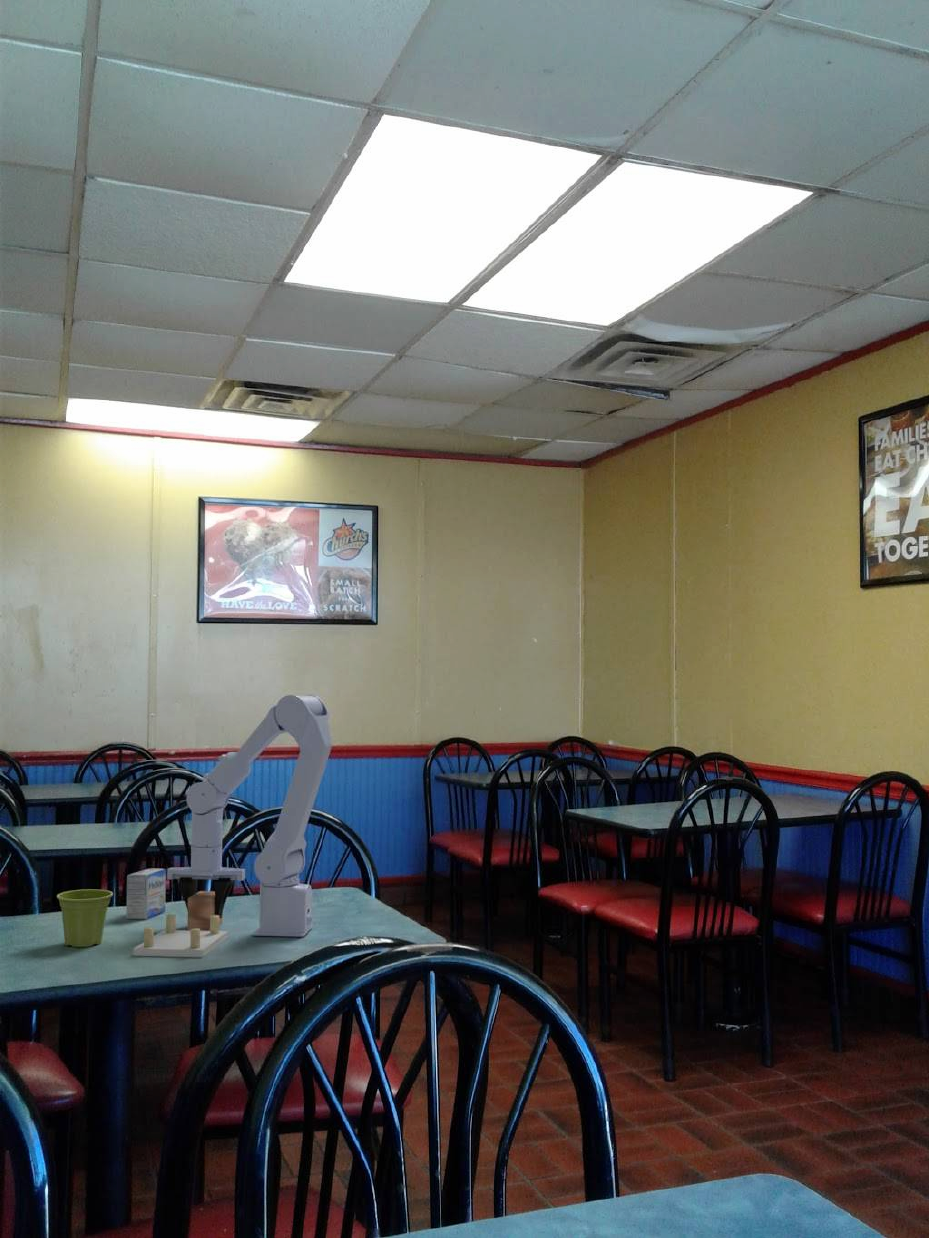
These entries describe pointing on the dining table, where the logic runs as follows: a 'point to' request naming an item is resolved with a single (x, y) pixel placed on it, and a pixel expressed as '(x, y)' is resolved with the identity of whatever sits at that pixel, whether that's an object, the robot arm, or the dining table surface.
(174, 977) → the dining table surface
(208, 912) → the board block
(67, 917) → the plant pot
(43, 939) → the dining table surface
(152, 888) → the medicine box
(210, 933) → the standoff plate
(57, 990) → the dining table surface
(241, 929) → the dining table surface
